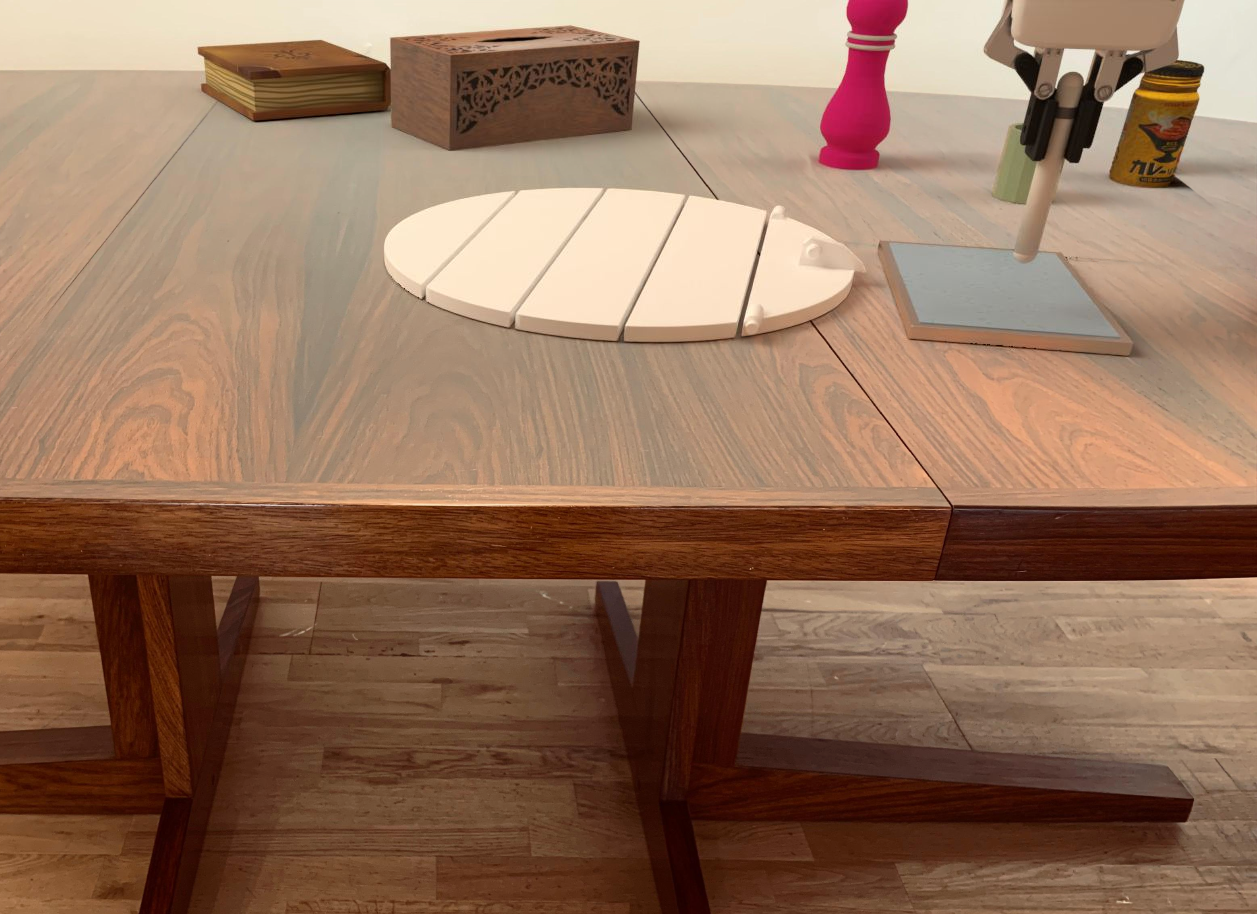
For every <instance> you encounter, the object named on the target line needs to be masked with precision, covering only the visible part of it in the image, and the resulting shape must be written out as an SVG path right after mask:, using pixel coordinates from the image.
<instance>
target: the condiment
mask: <svg viewBox="0 0 1257 914" xmlns="http://www.w3.org/2000/svg"><path fill="white" fill-rule="evenodd" d="M1204 73H1205V65H1203V64H1202V63H1199V62H1197V61H1191V60H1190V61H1189V60H1182V59H1177V61H1176V62H1175V63H1173V64H1171V65H1168V66H1165V67H1162V68H1159V69H1155V70H1152V71H1149V72H1144V73H1143V75H1142V76H1141V79H1140V81H1139V85H1138V87H1137V88H1136V89H1134V92H1133V94H1132V97H1131V100H1130V104H1129V106H1128V109H1127V112H1126V117H1125V119H1124V122H1123V126H1122V130H1121V132H1120V137H1119V140H1118V143H1117V147H1116V149H1115V151H1114V156H1113V157H1112V158H1113V160H1112V162H1111V166H1110V169H1109V172H1108V173H1109V180H1110V181H1112V182H1114V183H1117V184H1120V185H1125V186H1130V187H1134V188H1135V187H1136V188H1146V189H1157V188H1158V189H1159V188H1166V187H1169V186H1170V184H1171V183H1172V182H1173V180H1174V178H1175V173H1176V171H1177V168H1178V165H1179V163H1180V161H1181V156H1182V153H1183V151H1184V150H1183V149H1184V147H1185V144H1186V141H1187V139H1188V134H1189V132H1190V128H1191V126H1192V122H1193V119H1194V116H1195V114H1196V111H1197V109H1198V105H1199V102H1200V95H1199V93H1198V90H1199V88H1200V87H1201V83H1202V82H1201V80H1202V77H1203V75H1204Z"/></svg>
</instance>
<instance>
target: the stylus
mask: <svg viewBox="0 0 1257 914" xmlns="http://www.w3.org/2000/svg"><path fill="white" fill-rule="evenodd" d="M1084 85H1085V80H1084V77H1083V75H1082V74H1081V73H1080V72H1077V71H1068V72H1066V73H1064V74H1063V75H1062V76H1061V77H1060V78H1059V80H1058V82H1057V83H1056V87H1055V88H1056V89H1057V92H1056V96H1055V99H1056V100H1057V101H1058V102H1059V107H1058V111H1057V115H1056V118H1055V122H1054V126H1053V130H1052V133H1051V137H1050V141H1049V145H1048V148H1047V152H1046V156H1045V159H1044V160H1041V161H1037V164H1036V168H1035V172H1034V176H1033V179H1032V183H1031V187H1030V191H1029V195H1028V198H1027V202H1026V205H1024V211H1023V213H1022V214H1023V215H1022V217H1021V222H1020V226H1019V229H1018V233H1017V237H1016V241H1015V244H1014V248H1013V249H1014V252H1013V255H1014V258H1015V260H1016V261H1018V262H1019V263H1024V264H1025V263H1029V262H1031V261H1033V260H1034V259H1035V258H1036V256H1037V253H1038V251H1040V250H1039V249H1040V246H1041V242H1042V238H1043V235H1044V231H1045V229H1046V225H1047V220H1048V217H1049V213H1050V209H1051V206H1052V203H1053V201H1052V199H1053V195H1054V191H1055V188H1056V184H1057V180H1058V177H1059V173H1060V169H1061V166H1062V162H1063V158H1064V155H1065V151H1066V148H1067V144H1068V140H1069V137H1070V133H1071V129H1072V126H1073V122H1074V118H1075V116H1076V112H1077V108H1078V104H1079V100H1080V97H1081V93H1082V89H1083V86H1084Z"/></svg>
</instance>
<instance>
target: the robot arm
mask: <svg viewBox="0 0 1257 914" xmlns="http://www.w3.org/2000/svg"><path fill="white" fill-rule="evenodd" d="M1184 3H1185V0H1003V5H1002V9H1001V14H1000V19H999V21H998V23H997V24H996V26H995V27H994V28H993V31H992V33H991V34H990V35H989V37H988V39H987V40H986V42H985V44H984V46H983V54H984V55H985V56H986V57H988V58H989V59H991V60H993V61H995V62H997V63H999V64H1001V65H1003V66H1006V67H1008V68H1010V69H1012V70H1014V71H1015V72H1016V74H1017V75H1018V77H1019V78H1020V79H1021V81H1022V82H1023V83H1024V85H1025V86H1026V88H1027V90H1028V91H1029V92H1030V95H1029V96H1030V97H1029V100H1028V104H1027V108H1026V112H1025V115H1024V119H1023V122H1022V123H1023V127H1022V131H1021V136H1020V144H1021V145H1024V146H1025V154H1026V155H1027V156H1028V157H1029V158H1030V159H1031V160H1032V161H1041V160H1044V159H1045V156H1046V152H1047V148H1048V145H1049V141H1050V137H1051V133H1052V130H1053V126H1054V122H1055V118H1056V115H1057V111H1058V107H1059V102H1058V101H1057V100H1056V99H1055V96H1056V92H1057V89H1056V88H1057V81H1058V78H1059V73H1060V68H1061V65H1062V60H1063V55H1064V52H1065V49H1066V50H1067V49H1068V50H1089V51H1090V50H1091V51H1092V50H1094V53H1093V57H1092V60H1091V63H1090V66H1089V70H1088V73H1087V77H1086V80H1085V82H1084V86H1083V89H1082V93H1081V97H1080V100H1079V104H1078V108H1077V112H1076V116H1075V118H1074V122H1073V126H1072V129H1071V133H1070V137H1069V140H1068V144H1067V148H1066V151H1065V155H1064V158H1065V161H1067V162H1068V163H1070V164H1079V163H1080V161H1081V159H1082V155H1083V152H1084V149H1086V150H1087V149H1091V147H1092V145H1093V143H1094V139H1095V136H1096V132H1097V129H1098V125H1099V121H1100V118H1101V114H1102V110H1103V106H1104V104H1105V102H1108V101H1109V100H1110V99H1112V97H1113V96H1114V94H1115V93H1116V92H1118V91H1119V90H1120V89H1122V88H1123V87H1124V86H1126V85H1127V84H1128V83H1129V82H1131V81H1132V80H1133V79H1135V78H1137V76H1139V75H1141V74H1144V73H1145V72H1149V71H1152V70H1155V69H1159V68H1162V67H1165V66H1168V65H1171V64H1173V63H1175V62H1176V61H1177V60H1179V55H1180V51H1179V38H1178V37H1179V36H1178V23H1179V20H1180V18H1181V14H1182V11H1183V8H1184ZM1015 41H1016V42H1017V43H1019V44H1020V45H1023V46H1027V47H1031V48H1034V51H1033V54H1031V53H1030V52H1028V51H1027V50H1024V49H1022V48H1020V47H1018V46H1016V45H1015ZM1128 51H1129V52H1133V51H1134V52H1133V53H1132V54H1131V53H1128ZM1127 53H1128V54H1127Z"/></svg>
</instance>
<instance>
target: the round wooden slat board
mask: <svg viewBox="0 0 1257 914" xmlns="http://www.w3.org/2000/svg"><path fill="white" fill-rule="evenodd" d="M685 200H686V194H681V193H676V192H675V193H673V192H666V191H655V190H644V189H629V188H627V189H626V188H607V189H606V190H605V192H604V187H561V188H560V187H559V188H536V189H535V188H534V189H522V190H519V191H518V192H517V193H516V190H510V191H501V192H495V193H488V194H481V195H475V196H470V197H464V198H460V199H456V200H451V201H448V202H443V203H441V204H436V205H433V206H430V207H428V208H425V209H422V210H420V211H418V212H415V213H413V214H411V215H409V216H407V217H406V218H404V219H403V220H400V222H398V223H397V224H396V225H395V226H393V228H392V229H391V230H390V231H389V232H388V234H387V235H386V237H385V239H384V244H383V255H384V256H383V258H384V260H383V261H384V266H385V268H386V271H387V273H388V274H389V275H390V277H391V276H392V277H391V278H392V279H393V280H394V281H395V283H397V284H398V283H399V284H400V285H401V286H400V285H399V284H398V285H399V286H400V287H402V288H403V289H404V288H405V289H404V290H406V291H407V292H408V291H409V292H408V293H410V294H412V295H413V296H415V297H416V298H418V297H419V299H420V300H422V299H423V298H424V297H425V302H426V303H428V302H429V304H431V305H433V306H435V307H437V308H440V309H443V310H444V311H447V312H451V313H453V314H456V315H459V316H462V317H465V318H469V319H473V320H475V321H479V322H483V323H487V324H491V325H496V326H499V327H505V328H511V326H512V325H513V323H514V329H515V330H518V331H524V332H530V333H536V334H542V335H550V336H557V337H565V338H573V339H574V338H575V339H585V340H594V341H595V340H596V341H609V342H611V341H613V342H617V341H619V338H620V336H621V334H622V332H623V342H628V343H629V342H630V343H632V342H633V343H634V342H636V343H677V342H679V343H680V342H681V343H682V342H699V341H700V342H701V341H713V340H723V339H732V338H733V339H734V338H735V337H736V335H737V331H738V327H739V324H740V320H741V316H742V312H743V308H744V304H745V301H746V297H747V294H748V289H749V285H750V281H751V278H752V274H753V270H754V266H755V262H756V259H757V255H758V251H759V248H760V244H761V241H762V236H763V232H764V228H765V225H766V219H767V213H768V212H767V210H765V209H760V208H757V207H753V206H748V205H745V204H739V203H735V202H730V201H726V200H721V199H715V198H708V197H703V196H696V195H689V196H688V198H687V200H686V202H685ZM758 259H759V260H758V264H757V266H756V267H757V268H756V271H755V275H754V279H753V283H752V287H751V291H750V295H749V298H748V304H747V307H746V310H745V315H744V318H743V323H742V330H741V337H748V336H754V335H760V334H764V333H770V332H774V331H779V330H783V329H787V328H791V327H794V326H797V325H800V324H803V323H806V322H809V321H813V320H814V319H816V318H819V317H821V316H823V315H825V314H827V313H829V312H831V311H832V310H833V309H835V308H836V307H838V306H839V305H840V304H841V303H842V302H844V301H845V299H846V298H847V297H848V295H849V294H850V292H851V289H852V285H853V280H854V275H855V273H863V274H865V273H867V269H866V267H865V264H864V262H863V260H862V259H861V258H860V257H858V256H857V254H855V253H854V252H853V251H852V250H851V249H850V248H849V247H847V246H846V245H845V244H844V243H842V242H839V241H836V240H835V239H834V238H832V237H831V236H829V235H828V234H826V233H824V232H822V231H821V230H818V229H816V228H815V227H812V226H810V225H807V224H806V223H803V222H801V221H799V220H796V219H792V218H791V217H787V216H786V208H785V207H784V206H783V205H780V204H779V205H776V206H774V207H773V209H772V212H770V216H769V220H768V224H767V228H766V232H765V236H764V240H763V243H762V247H761V251H760V256H759V258H758ZM623 330H624V331H623Z"/></svg>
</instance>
